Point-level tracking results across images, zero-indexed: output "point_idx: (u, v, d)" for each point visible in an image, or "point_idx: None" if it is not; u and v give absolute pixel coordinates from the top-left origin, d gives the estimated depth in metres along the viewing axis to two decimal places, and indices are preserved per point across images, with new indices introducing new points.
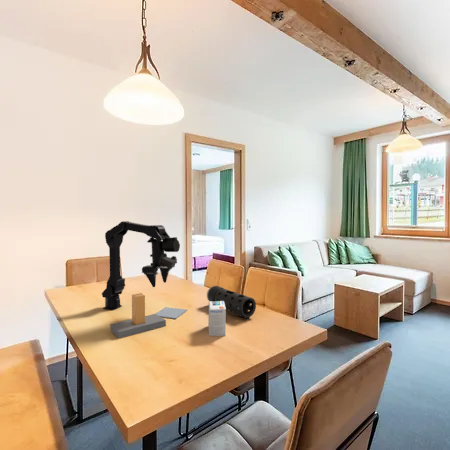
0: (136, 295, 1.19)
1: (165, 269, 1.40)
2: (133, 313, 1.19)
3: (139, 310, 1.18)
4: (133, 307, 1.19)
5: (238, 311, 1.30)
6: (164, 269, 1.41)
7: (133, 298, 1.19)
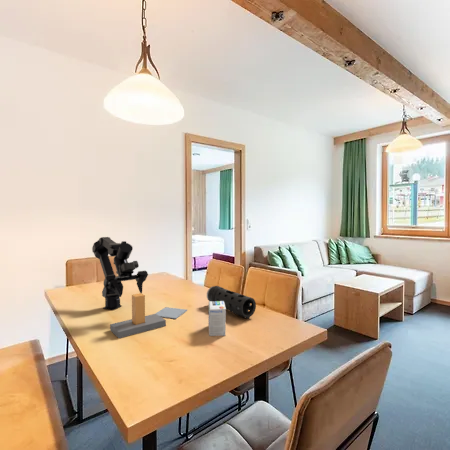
0: (136, 295, 1.19)
1: (138, 280, 1.32)
2: (133, 313, 1.19)
3: (139, 310, 1.18)
4: (133, 307, 1.19)
5: (238, 311, 1.30)
6: (138, 281, 1.32)
7: (133, 298, 1.19)
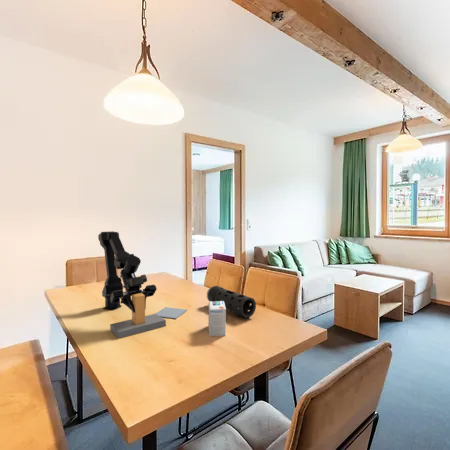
0: (136, 295, 1.19)
1: None
2: (133, 313, 1.19)
3: (139, 310, 1.18)
4: None
5: (238, 311, 1.30)
6: None
7: (133, 298, 1.19)
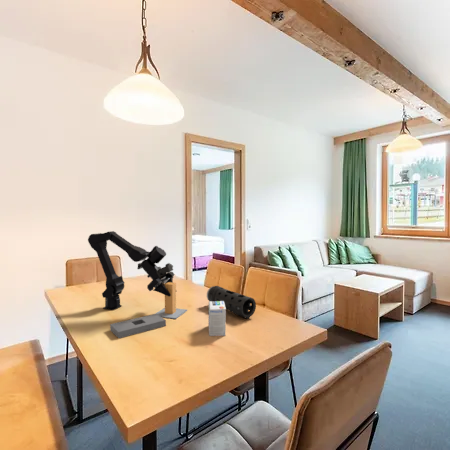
0: (169, 283, 1.37)
1: (168, 281, 1.42)
2: (167, 299, 1.36)
3: (174, 296, 1.37)
4: None
5: (238, 311, 1.30)
6: (167, 282, 1.42)
7: (168, 286, 1.36)
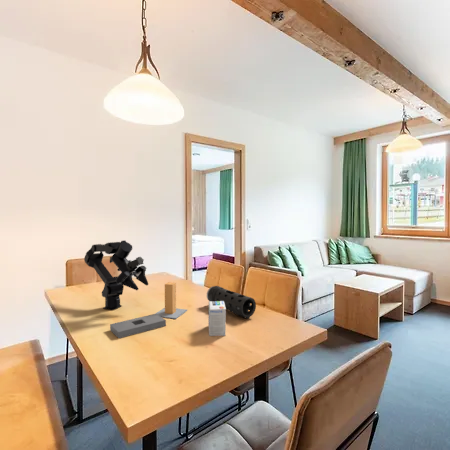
0: (170, 283, 1.37)
1: (140, 274, 1.43)
2: (167, 299, 1.36)
3: (174, 296, 1.37)
4: (168, 294, 1.36)
5: (238, 311, 1.30)
6: (139, 275, 1.44)
7: (168, 286, 1.36)
